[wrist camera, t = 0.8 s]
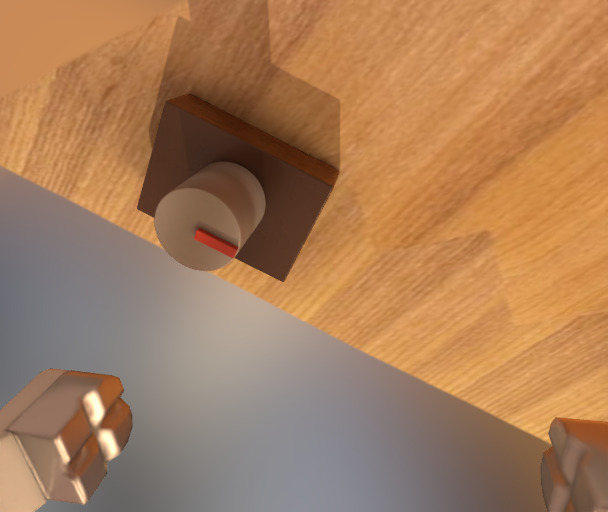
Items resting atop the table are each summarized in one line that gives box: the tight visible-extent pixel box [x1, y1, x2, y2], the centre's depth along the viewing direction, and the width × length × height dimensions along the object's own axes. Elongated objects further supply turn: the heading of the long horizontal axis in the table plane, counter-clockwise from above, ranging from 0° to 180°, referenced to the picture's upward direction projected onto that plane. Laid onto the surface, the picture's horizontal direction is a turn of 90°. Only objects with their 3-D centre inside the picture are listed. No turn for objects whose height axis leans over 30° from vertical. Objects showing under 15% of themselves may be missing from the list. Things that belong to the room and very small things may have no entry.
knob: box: [154, 161, 266, 271], centre depth 23 cm, size 4×4×5 cm
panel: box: [137, 94, 340, 282], centre depth 26 cm, size 10×7×3 cm
